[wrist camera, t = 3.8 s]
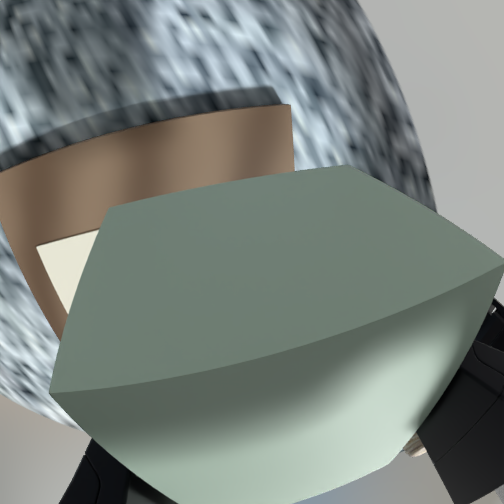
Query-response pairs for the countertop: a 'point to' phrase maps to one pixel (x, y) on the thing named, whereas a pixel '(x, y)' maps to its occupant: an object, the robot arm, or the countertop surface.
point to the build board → (126, 186)
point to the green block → (269, 333)
